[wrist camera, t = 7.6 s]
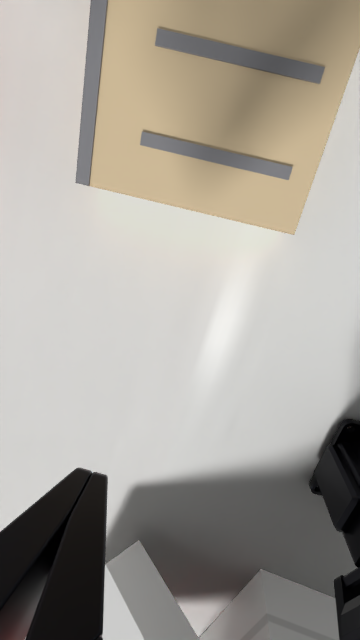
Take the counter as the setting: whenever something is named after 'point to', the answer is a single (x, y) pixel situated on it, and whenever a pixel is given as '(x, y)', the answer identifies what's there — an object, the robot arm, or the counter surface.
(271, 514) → the counter surface
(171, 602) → the pizza boxes
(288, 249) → the counter surface
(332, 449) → the robot arm
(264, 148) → the beige slotted tile
